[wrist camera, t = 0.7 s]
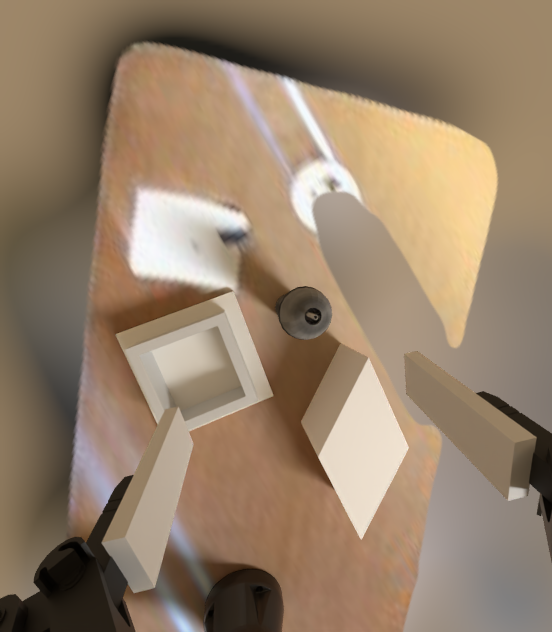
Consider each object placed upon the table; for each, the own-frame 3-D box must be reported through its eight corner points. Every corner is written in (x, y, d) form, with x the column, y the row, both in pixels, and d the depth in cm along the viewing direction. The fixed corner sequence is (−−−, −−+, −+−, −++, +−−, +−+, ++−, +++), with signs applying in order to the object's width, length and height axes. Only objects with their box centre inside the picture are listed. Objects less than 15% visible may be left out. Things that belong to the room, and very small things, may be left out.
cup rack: (272, 393, 48) (278, 408, 42) (166, 437, 46) (156, 459, 40) (233, 291, 45) (233, 291, 39) (117, 333, 43) (99, 340, 37)
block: (299, 494, 51) (316, 547, 41) (301, 344, 48) (320, 359, 38) (370, 485, 54) (403, 533, 43) (377, 341, 51) (414, 355, 40)
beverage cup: (299, 332, 48) (344, 363, 28) (261, 319, 46) (282, 343, 27) (313, 294, 47) (368, 299, 28) (275, 280, 46) (306, 275, 26)
